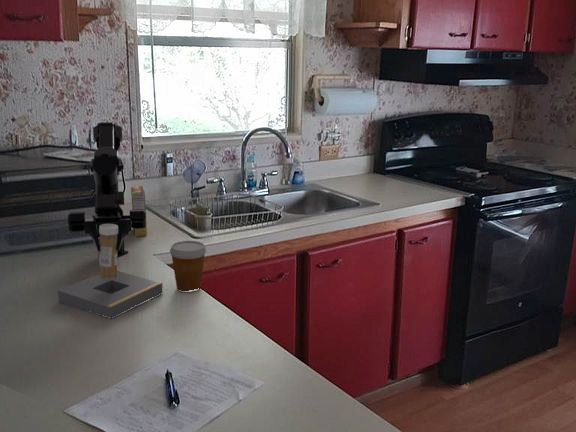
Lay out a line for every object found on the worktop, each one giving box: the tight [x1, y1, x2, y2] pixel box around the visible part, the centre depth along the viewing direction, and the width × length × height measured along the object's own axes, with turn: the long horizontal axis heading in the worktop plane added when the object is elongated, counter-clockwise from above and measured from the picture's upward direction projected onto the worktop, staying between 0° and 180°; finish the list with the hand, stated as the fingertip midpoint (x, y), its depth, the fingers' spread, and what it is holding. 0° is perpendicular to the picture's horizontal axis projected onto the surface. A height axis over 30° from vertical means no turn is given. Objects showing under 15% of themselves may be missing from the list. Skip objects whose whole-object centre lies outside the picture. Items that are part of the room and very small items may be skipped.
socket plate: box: [57, 270, 164, 318], centre depth 155 cm, size 18×18×3 cm
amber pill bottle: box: [98, 224, 118, 279], centre depth 152 cm, size 5×5×14 cm
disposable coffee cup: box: [169, 240, 207, 292], centre depth 161 cm, size 10×10×12 cm
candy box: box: [130, 185, 148, 237], centre depth 206 cm, size 9×4×15 cm, turn 17°
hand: (108, 250), depth 150 cm, fingers closed on amber pill bottle, 4 cm apart
